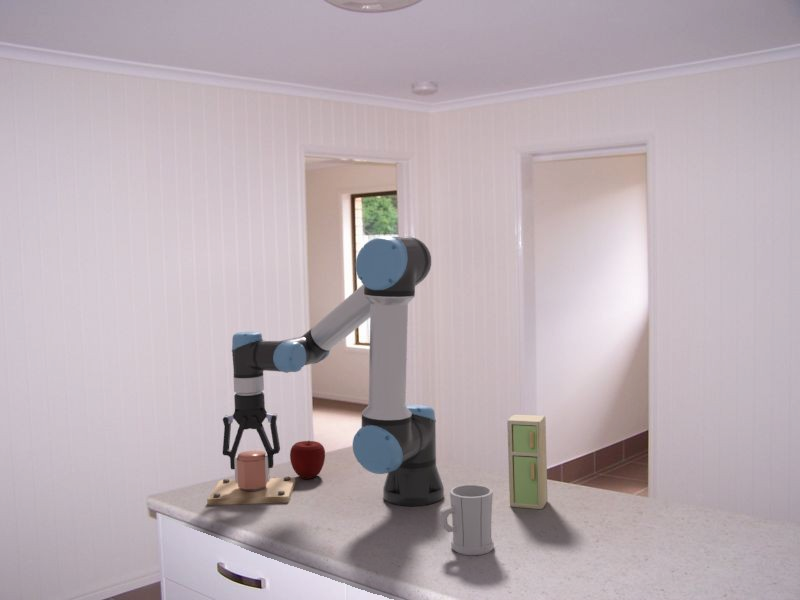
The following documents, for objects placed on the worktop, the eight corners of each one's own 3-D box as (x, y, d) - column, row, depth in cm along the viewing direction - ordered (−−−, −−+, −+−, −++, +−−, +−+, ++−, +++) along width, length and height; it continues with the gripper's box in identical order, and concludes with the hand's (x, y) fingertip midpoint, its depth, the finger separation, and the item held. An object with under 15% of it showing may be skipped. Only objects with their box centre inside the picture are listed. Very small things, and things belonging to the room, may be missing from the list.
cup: (478, 562, 153) (477, 502, 153) (438, 553, 158) (436, 495, 157) (501, 544, 162) (500, 487, 162) (462, 536, 167) (460, 481, 166)
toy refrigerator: (507, 507, 185) (506, 420, 183) (515, 498, 192) (513, 413, 190) (541, 511, 182) (540, 422, 180) (547, 501, 189) (546, 415, 187)
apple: (323, 481, 209) (322, 445, 209) (288, 482, 209) (286, 446, 209) (327, 471, 219) (326, 436, 218) (293, 472, 219) (292, 437, 218)
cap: (236, 489, 197) (235, 458, 196) (241, 481, 204) (240, 451, 203) (264, 488, 197) (263, 457, 197) (268, 480, 204) (267, 450, 204)
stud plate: (295, 482, 209) (294, 454, 209) (288, 502, 193) (287, 471, 193) (220, 485, 209) (219, 456, 208) (207, 505, 193) (206, 474, 192)
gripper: (289, 388, 203) (293, 475, 205) (212, 391, 202) (216, 478, 204) (286, 394, 196) (290, 483, 197) (206, 396, 195) (210, 486, 197)
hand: (252, 480), depth 201 cm, fingers closed on cap, 7 cm apart
